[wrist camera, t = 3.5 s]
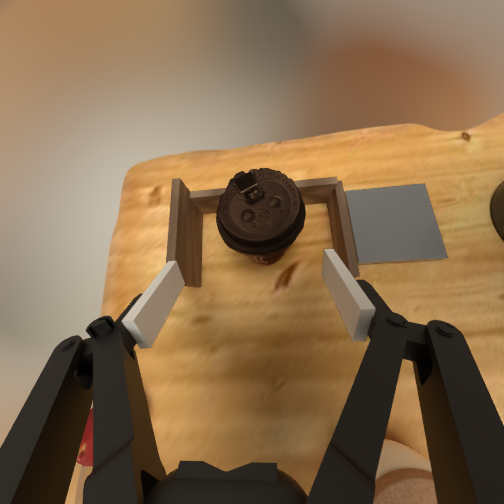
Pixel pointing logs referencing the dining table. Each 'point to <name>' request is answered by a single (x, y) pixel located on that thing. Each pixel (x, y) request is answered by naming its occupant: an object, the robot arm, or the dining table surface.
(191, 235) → the u-shaped wooden frame
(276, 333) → the dining table surface
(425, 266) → the dining table surface
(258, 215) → the coffee cup
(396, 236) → the slate pad
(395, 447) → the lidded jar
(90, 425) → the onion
